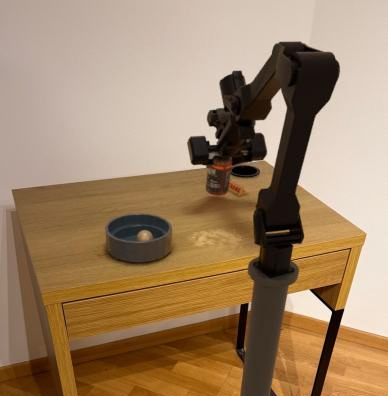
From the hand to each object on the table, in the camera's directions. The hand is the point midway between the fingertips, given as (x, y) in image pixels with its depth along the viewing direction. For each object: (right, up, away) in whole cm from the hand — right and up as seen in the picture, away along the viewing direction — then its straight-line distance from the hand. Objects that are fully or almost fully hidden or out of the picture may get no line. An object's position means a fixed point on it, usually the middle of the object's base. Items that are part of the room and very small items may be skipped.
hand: (218, 165), depth 125 cm
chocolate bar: (+4, -2, +13) cm, 13 cm away
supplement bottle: (0, -5, +4) cm, 7 cm away
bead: (-17, -22, -18) cm, 33 cm away
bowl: (-18, -24, -17) cm, 35 cm away
